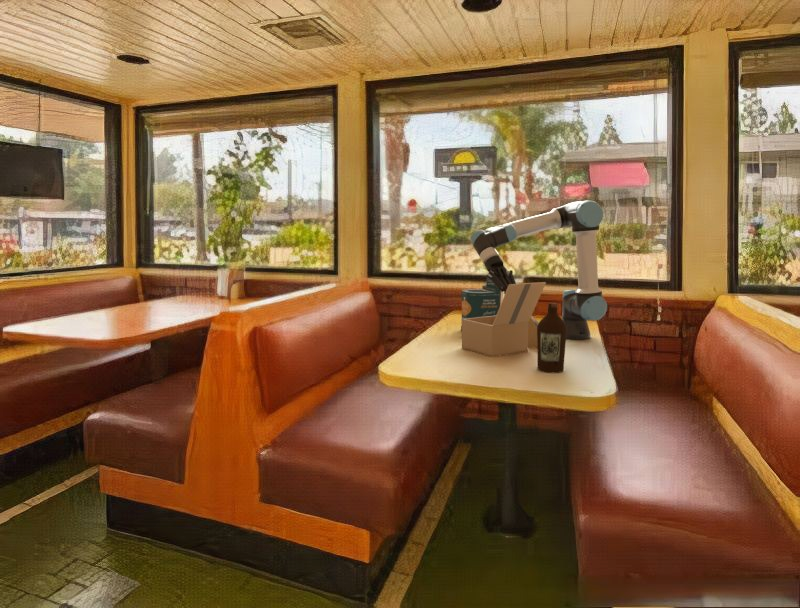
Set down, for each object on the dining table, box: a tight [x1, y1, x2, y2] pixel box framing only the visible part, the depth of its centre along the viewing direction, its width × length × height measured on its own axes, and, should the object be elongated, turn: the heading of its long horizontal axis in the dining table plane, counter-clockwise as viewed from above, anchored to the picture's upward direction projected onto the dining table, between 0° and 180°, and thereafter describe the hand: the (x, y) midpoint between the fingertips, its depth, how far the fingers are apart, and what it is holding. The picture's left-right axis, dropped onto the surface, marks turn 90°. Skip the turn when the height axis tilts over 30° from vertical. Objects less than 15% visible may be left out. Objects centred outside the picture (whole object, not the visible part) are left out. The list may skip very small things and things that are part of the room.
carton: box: [461, 316, 529, 357], centre depth 240 cm, size 20×20×13 cm
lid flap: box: [493, 281, 547, 326], centre depth 225 cm, size 20×20×1 cm
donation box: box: [460, 276, 501, 332], centre depth 282 cm, size 16×16×28 cm
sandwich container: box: [528, 315, 540, 348], centre depth 248 cm, size 9×15×15 cm, turn 75°
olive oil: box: [536, 302, 567, 373], centre depth 205 cm, size 11×11×25 cm
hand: (517, 303), depth 226 cm, fingers closed
